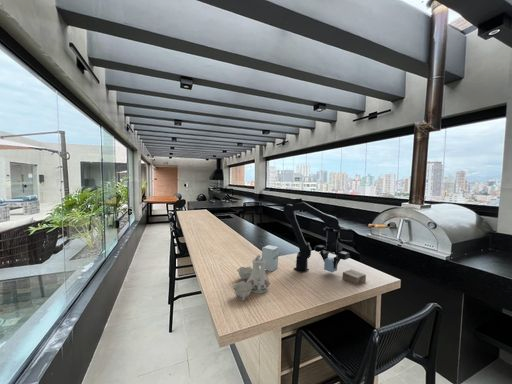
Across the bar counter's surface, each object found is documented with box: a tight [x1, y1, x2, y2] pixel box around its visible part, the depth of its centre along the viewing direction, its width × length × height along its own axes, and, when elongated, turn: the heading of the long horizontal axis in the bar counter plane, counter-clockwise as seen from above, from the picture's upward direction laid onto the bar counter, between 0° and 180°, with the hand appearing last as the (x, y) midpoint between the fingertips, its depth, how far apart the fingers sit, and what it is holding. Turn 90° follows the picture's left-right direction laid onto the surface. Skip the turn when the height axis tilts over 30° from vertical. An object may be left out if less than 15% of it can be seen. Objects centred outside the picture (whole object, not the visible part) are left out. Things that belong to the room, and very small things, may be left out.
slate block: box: [323, 256, 338, 273], centre depth 120 cm, size 5×5×6 cm
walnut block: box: [342, 269, 367, 286], centre depth 113 cm, size 8×8×4 cm
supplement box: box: [261, 244, 279, 272], centre depth 125 cm, size 7×7×13 cm
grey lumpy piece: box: [232, 254, 271, 302], centre depth 100 cm, size 28×17×17 cm, turn 4°
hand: (330, 267), depth 120 cm, fingers closed on slate block, 5 cm apart
